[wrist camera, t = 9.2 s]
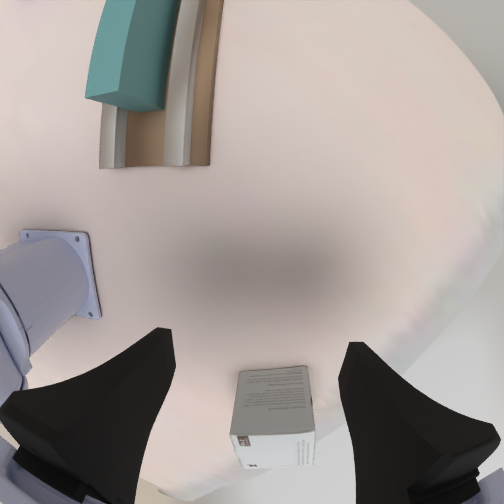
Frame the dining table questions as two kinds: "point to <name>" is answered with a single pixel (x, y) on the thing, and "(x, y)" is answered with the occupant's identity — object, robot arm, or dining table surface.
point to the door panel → (132, 54)
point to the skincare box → (273, 419)
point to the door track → (172, 101)
